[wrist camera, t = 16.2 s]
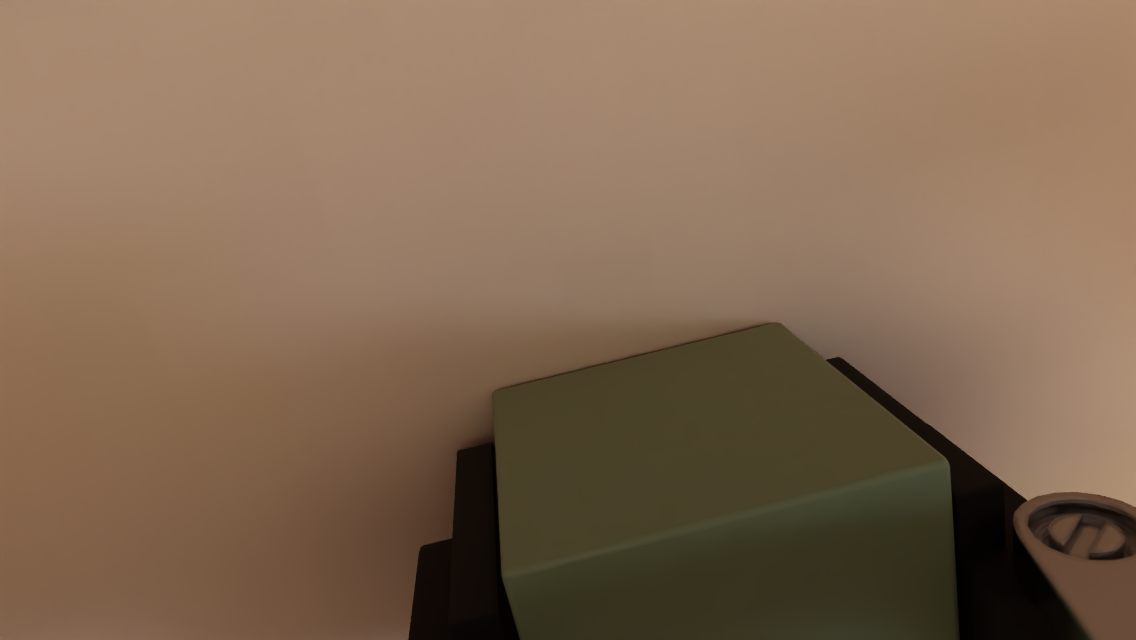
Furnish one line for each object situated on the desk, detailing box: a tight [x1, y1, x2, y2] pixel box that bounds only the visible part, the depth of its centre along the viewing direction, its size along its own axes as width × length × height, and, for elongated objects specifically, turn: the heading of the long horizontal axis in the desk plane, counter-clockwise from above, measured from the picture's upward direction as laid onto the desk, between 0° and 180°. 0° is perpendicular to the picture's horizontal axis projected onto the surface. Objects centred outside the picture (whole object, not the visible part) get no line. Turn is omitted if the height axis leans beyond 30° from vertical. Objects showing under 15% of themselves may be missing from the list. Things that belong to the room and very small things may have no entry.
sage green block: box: [493, 323, 960, 640], centre depth 10 cm, size 4×4×4 cm
